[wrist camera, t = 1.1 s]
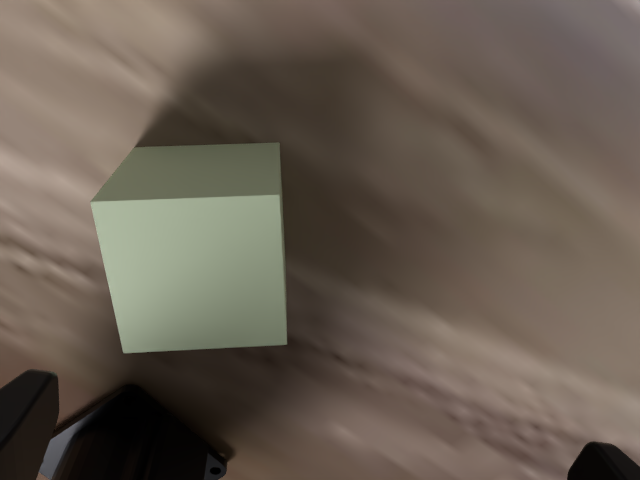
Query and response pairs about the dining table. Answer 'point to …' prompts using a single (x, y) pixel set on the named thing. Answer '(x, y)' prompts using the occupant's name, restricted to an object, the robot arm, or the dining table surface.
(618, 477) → the robot arm
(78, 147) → the dining table surface
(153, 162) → the green block
